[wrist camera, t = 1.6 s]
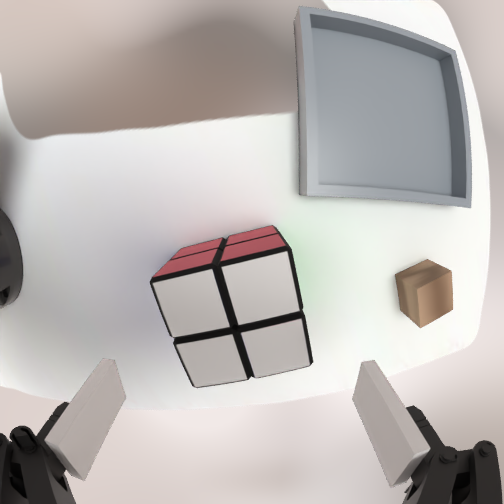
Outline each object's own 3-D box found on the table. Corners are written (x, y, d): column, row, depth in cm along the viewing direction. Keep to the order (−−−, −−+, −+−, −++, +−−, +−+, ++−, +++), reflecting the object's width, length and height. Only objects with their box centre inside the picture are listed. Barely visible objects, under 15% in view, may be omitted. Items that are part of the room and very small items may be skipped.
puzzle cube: (179, 248, 28) (146, 279, 18) (275, 223, 27) (291, 244, 18) (207, 333, 30) (192, 391, 20) (295, 313, 30) (315, 367, 20)
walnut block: (400, 310, 30) (420, 328, 25) (394, 274, 29) (416, 289, 24) (430, 294, 30) (453, 309, 25) (427, 259, 29) (451, 270, 24)
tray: (299, 194, 27) (307, 195, 23) (293, 22, 22) (299, 5, 19) (452, 205, 27) (470, 208, 24) (440, 58, 23) (455, 50, 19)
